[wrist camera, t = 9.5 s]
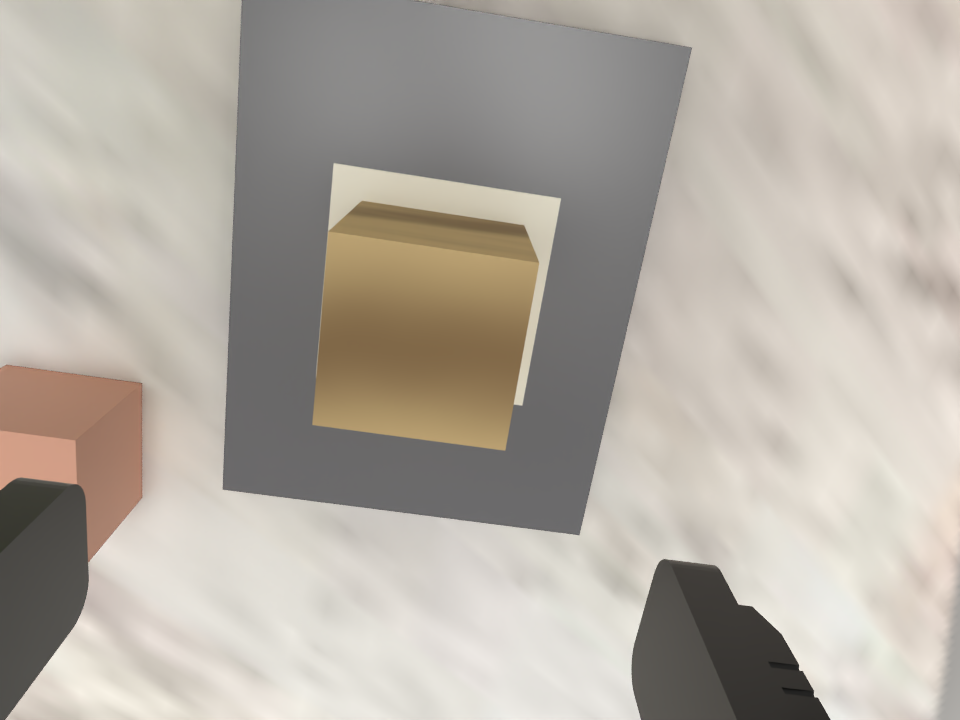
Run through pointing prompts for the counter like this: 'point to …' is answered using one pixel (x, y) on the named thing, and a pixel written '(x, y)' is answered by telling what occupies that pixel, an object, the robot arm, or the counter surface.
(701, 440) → the counter surface
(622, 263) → the grey flat slab
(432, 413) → the ochre block
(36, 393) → the terracotta block
